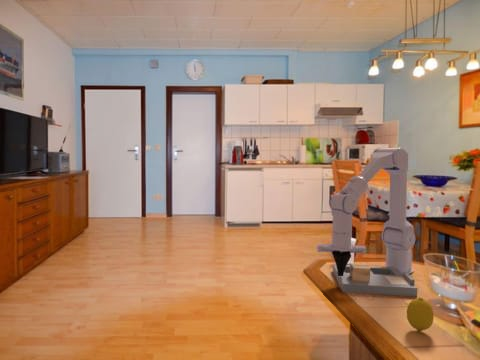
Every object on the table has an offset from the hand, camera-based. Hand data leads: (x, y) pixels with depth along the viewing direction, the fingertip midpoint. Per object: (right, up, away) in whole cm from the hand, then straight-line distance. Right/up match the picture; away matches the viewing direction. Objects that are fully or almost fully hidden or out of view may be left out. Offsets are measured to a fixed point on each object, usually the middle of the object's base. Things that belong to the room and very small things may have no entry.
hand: (340, 275), depth 113 cm
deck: (+11, -3, +3) cm, 12 cm away
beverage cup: (+10, -2, +26) cm, 28 cm away
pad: (+17, -1, -2) cm, 17 cm away
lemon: (+10, -6, -29) cm, 32 cm away
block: (+6, -1, -1) cm, 6 cm away
